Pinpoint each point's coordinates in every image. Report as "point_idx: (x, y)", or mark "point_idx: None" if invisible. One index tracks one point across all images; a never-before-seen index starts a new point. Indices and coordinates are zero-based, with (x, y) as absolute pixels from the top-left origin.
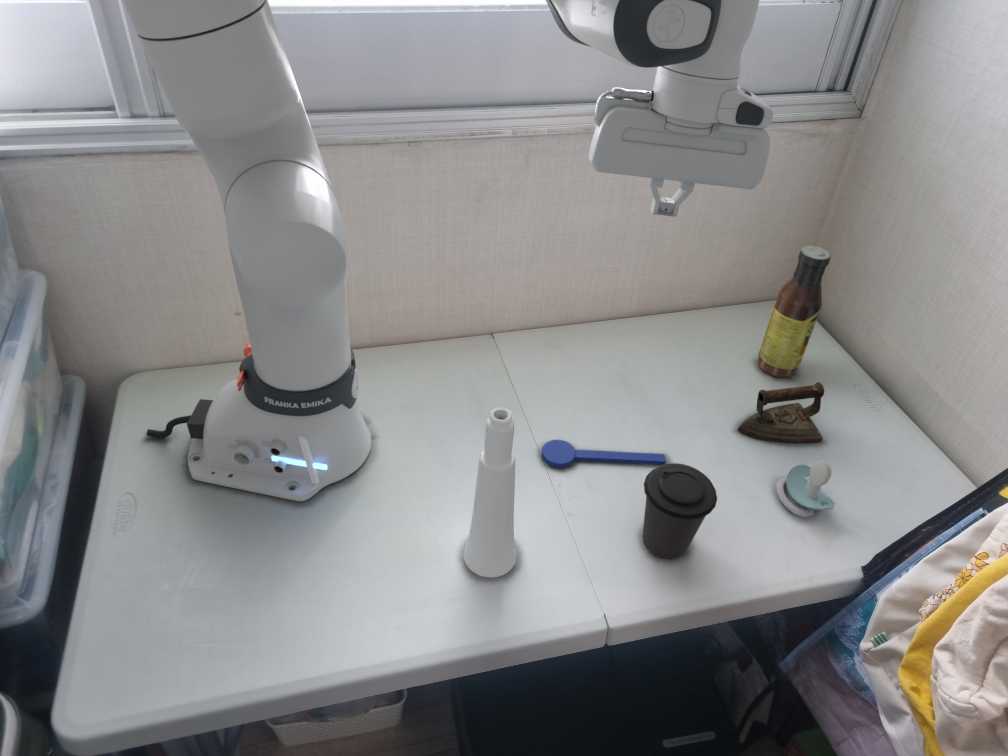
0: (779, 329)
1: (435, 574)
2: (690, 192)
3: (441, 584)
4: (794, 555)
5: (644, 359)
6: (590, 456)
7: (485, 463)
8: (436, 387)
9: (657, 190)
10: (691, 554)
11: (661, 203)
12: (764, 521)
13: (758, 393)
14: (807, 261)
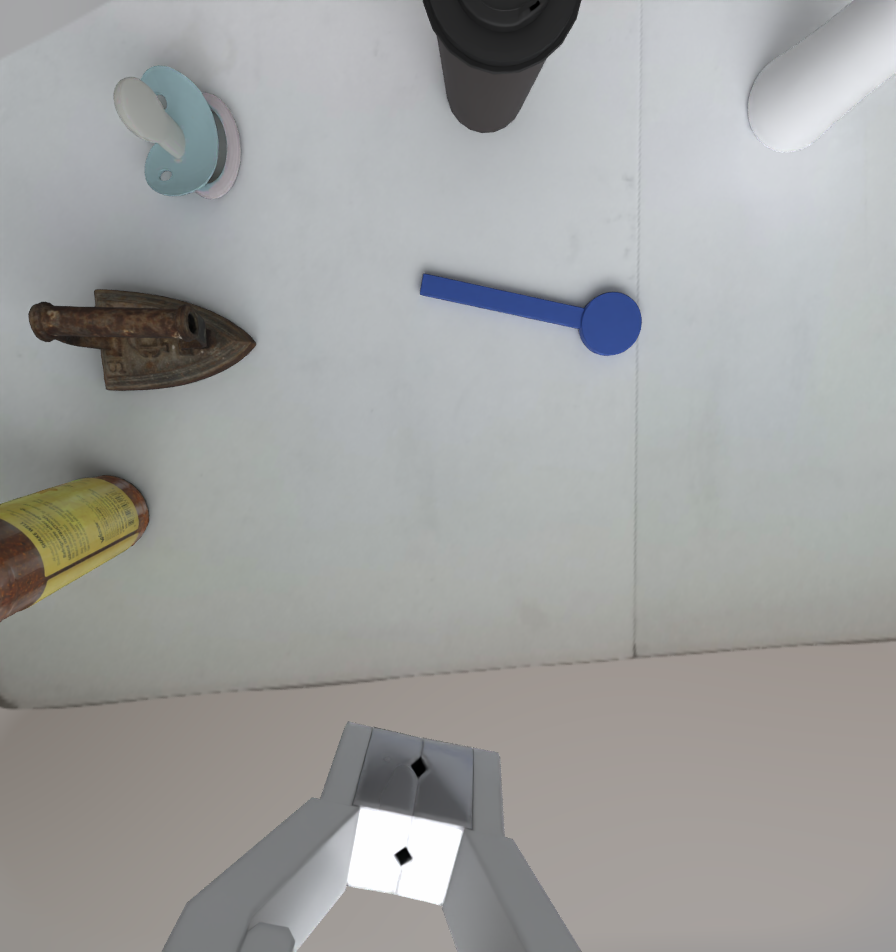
0: (64, 527)
1: None
2: (209, 895)
3: None
4: (263, 14)
5: (370, 559)
6: (557, 305)
7: None
8: (769, 525)
9: (527, 939)
10: None
11: (459, 814)
12: (288, 106)
13: (193, 337)
14: None
